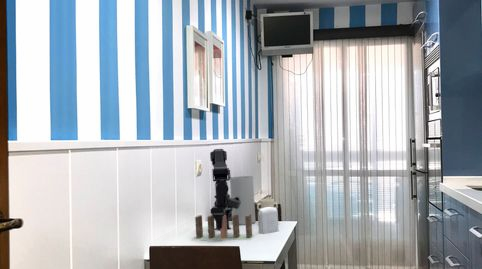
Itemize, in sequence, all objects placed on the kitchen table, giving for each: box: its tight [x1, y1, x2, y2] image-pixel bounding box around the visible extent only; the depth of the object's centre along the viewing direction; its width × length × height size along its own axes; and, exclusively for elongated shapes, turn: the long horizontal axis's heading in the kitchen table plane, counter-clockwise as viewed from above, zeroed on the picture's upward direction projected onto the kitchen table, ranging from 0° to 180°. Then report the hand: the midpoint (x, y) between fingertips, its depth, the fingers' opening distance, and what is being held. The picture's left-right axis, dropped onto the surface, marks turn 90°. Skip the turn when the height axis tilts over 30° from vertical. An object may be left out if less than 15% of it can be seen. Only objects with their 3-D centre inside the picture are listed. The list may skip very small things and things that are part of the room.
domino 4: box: [245, 214, 253, 238], centre depth 232 cm, size 2×5×10 cm, turn 166°
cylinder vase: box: [229, 175, 256, 226], centre depth 275 cm, size 12×12×25 cm
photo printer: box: [257, 206, 279, 235], centre depth 243 cm, size 10×4×12 cm, turn 123°
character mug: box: [256, 198, 279, 211], centre depth 267 cm, size 11×7×13 cm, turn 95°
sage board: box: [191, 233, 257, 241], centre depth 235 cm, size 28×13×1 cm, turn 76°
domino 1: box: [194, 214, 204, 239], centre depth 238 cm, size 2×5×10 cm, turn 166°
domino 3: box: [231, 215, 241, 238], centre depth 234 cm, size 2×5×10 cm, turn 165°
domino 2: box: [207, 214, 216, 238], centre depth 237 cm, size 2×5×10 cm, turn 166°
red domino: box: [220, 215, 228, 238], centre depth 235 cm, size 2×5×10 cm, turn 166°
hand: (223, 226), depth 235 cm, fingers open, 9 cm apart
